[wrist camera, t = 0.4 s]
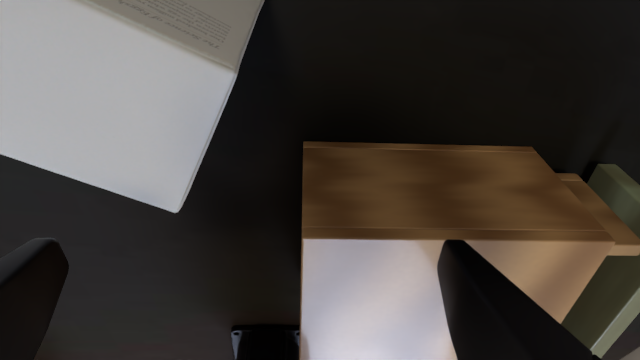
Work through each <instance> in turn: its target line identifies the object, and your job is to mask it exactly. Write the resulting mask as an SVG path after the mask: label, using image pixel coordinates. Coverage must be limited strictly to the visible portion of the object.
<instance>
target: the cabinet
mask: <svg viewBox="0 0 640 360" xmlns="http://www.w3.org/2000/svg"><path fill="white" fill-rule="evenodd" d="M447 239H461V240H464V241H465V242H467V243H468V244H469V245H470V246H471V247H472V248H473V249H475V250H476V251H477V252H478V253H479V254H480V255H481V256H483V257H484V258H485V259H486V260H487V261H488V262H490V263H491V264H492V265H493V266H494V267H495V268H496V269H498V270H499V271H500V272H501V273H502V274H503V275H505V276H506V277H507V278H508V279H509V280H510V281H511V282H513V283H514V284H515V285H516V286H517V287H518V288H520V289H521V290H522V291H523V292H524V293H525V294H526V295H528V296H529V297H530V298H531V299H532V300H533V301H534V302H536V303H537V304H538V305H539V306H540V307H541V308H543V309H544V310H545V311H546V312H547V313H548V314H549V315H551V316H552V317H553V318H554V319H555V320H556V321H558V322H559V323H560V324H561V323H562V321H563V320H564V318H565V317H566V315H567V314H568V312H569V311H570V309H571V308H572V306H573V305H574V303H575V302H576V300H577V299H578V297H579V296H580V294H581V293H582V291H583V290H584V288H585V287H586V286H587V284H588V283H589V281H590V280H591V278H592V277H593V275H594V274H595V272H596V271H597V269H598V268H599V266H600V265H601V263H602V262H603V260H604V259H605V257H606V256H607V254H608V253H609V251H610V250H611V248H612V247H613V245H614V244H615V242H616V241H615V240H614V239H613V238H612V236H611V235H610V234H609V233H608V232H606V230H605V229H604V227H603V226H602V225H601V224H600V223H599V222H598V221H597V220H596V219H595V217H594V216H593V215H592V214H591V213H590V212H589V211H588V210H587V208H586V207H585V206H584V205H583V204H582V203H581V202H580V201H579V199H578V198H577V197H576V196H575V195H574V194H573V193H572V192H571V190H570V189H569V188H568V187H567V186H566V185H565V184H564V183H563V181H562V180H561V179H560V178H559V177H558V176H557V175H556V174H555V172H554V171H553V170H552V169H551V168H550V167H549V166H548V165H547V163H546V162H545V161H544V160H543V159H542V158H541V157H540V156H539V154H538V153H537V152H536V151H535V150H534V149H533V147H519V146H477V145H435V144H393V143H351V142H309V141H304V142H303V182H302V230H301V279H300V335H299V360H457V356H456V353H455V350H454V347H453V344H452V340H451V337H450V333H449V329H448V325H447V320H446V315H445V309H444V304H443V299H442V294H441V289H440V283H439V278H438V273H437V263H438V260H439V256H440V253H441V250H442V246H443V243H444V241H445V240H447Z"/></svg>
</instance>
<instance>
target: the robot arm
mask: <svg viewBox="0 0 640 360" xmlns="http://www.w3.org/2000/svg"><path fill="white" fill-rule="evenodd" d="M68 269H69V265H68V261H67V259H66V257H65V255H64V253H63V251H62V249H61V247H60V245H59V243H58V241H57V240H56V239H54V238H34V239H32V240H30V241H28V242H27V243H25V244H23V245H22V246H20V247H18V248H17V249H15V250H13V251H12V252H10V253H8V254H7V255H5V256H3V257H2V258H0V360H33V359H34V357H35V355H36V353H37V351H38V349H39V347H40V345H41V342H42V340H43V338H44V336H45V334H46V331H47V329H48V326H49V324H50V321H51V318H52V315H53V313H54V310H55V307H56V304H57V301H58V299H59V296H60V293H61V290H62V288H63V285H64V282H65V279H66V277H67V274H68ZM437 273H438V278H439V283H440V289H441V294H442V299H443V304H444V309H445V315H446V320H447V325H448V329H449V333H450V337H451V340H452V344H453V347H454V350H455V353H456V356H457V360H601V359H600V358H599V357H598V356H597V355H595V354H593V355H592V351H591V350H590V349H589V348H587V347H586V346H585V345H584V344H583V343H582V342H581V341H579V340H578V339H577V338H576V337H575V336H574V335H572V334H571V333H570V332H569V331H568V330H567V329H566V328H564V327H563V326H562V325H561V324H560V323H559V322H558V321H556V320H555V319H554V318H553V317H552V316H551V315H549V314H548V313H547V312H546V311H545V310H544V309H543V308H541V307H540V306H539V305H538V304H537V303H536V302H534V301H533V300H532V299H531V298H530V297H529V296H528V295H526V294H525V293H524V292H523V291H522V290H521V289H520V288H518V287H517V286H516V285H515V284H514V283H513V282H511V281H510V280H509V279H508V278H507V277H506V276H505V275H503V274H502V273H501V272H500V271H499V270H498V269H496V268H495V267H494V266H493V265H492V264H491V263H490V262H488V261H487V260H486V259H485V258H484V257H483V256H481V255H480V254H479V253H478V252H477V251H476V250H475V249H473V248H472V247H471V246H470V245H469V244H468V243H467V242H465V241H464V240H461V239H447V240H445V241H444V243H443V246H442V250H441V253H440V256H439V260H438V263H437ZM299 335H300V327H233V328H232V330H231V339H232V345H233V351H234V358H235V360H299Z"/></svg>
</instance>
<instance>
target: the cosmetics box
mask: <svg viewBox="0 0 640 360" xmlns="http://www.w3.org/2000/svg"><path fill="white" fill-rule="evenodd" d="M264 1H265V0H0V154H2V155H5V156H8V157H11V158H14V159H17V160H20V161H23V162H25V163H28V164H31V165H34V166H37V167H40V168H43V169H46V170H49V171H52V172H55V173H58V174H61V175H64V176H67V177H70V178H73V179H76V180H79V181H81V182H85V183H88V184H91V185H94V186H97V187H100V188H103V189H106V190H109V191H112V192H115V193H117V194H120V195H123V196H126V197H129V198H132V199H135V200H138V201H141V202H144V203H147V204H150V205H153V206H156V207H159V208H162V209H165V210H168V211H170V212H173V213H176V212H178V211H179V210H180V209H181V207H182V205H183V203H184V201H185V199H186V197H187V195H188V193H189V190H190V188H191V186H192V183H193V181H194V178H195V176H196V174H197V171H198V169H199V166H200V164H201V162H202V159H203V157H204V155H205V152H206V150H207V148H208V145H209V143H210V141H211V138H212V136H213V133H214V131H215V129H216V126H217V124H218V122H219V119H220V117H221V114H222V112H223V109H224V107H225V105H226V102H227V100H228V97H229V95H230V93H231V90H232V88H233V85H234V83H235V80H236V78H237V75H238V71H239V66H240V63H241V60H242V58H243V55H244V52H245V50H246V47H247V44H248V41H249V39H250V36H251V33H252V30H253V28H254V25H255V22H256V20H257V17H258V14H259V12H260V10H261V7H262V5H263V3H264Z"/></svg>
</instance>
